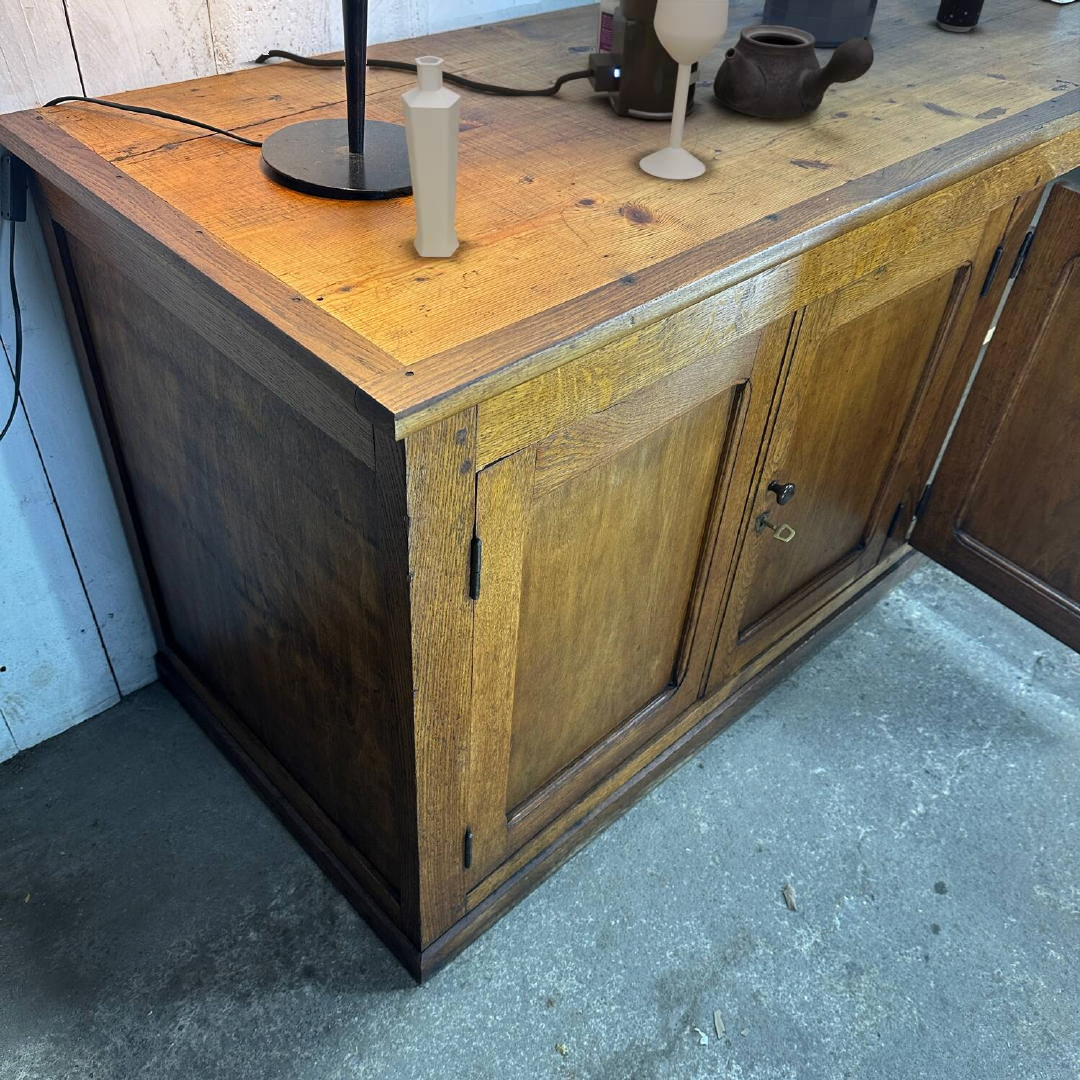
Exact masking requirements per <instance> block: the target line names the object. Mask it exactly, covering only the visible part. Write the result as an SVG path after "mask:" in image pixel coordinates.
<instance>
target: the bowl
mask: <svg viewBox="0 0 1080 1080" xmlns="http://www.w3.org/2000/svg"><path fill="white" fill-rule="evenodd" d="M878 1H879V0H764V5H763V12H762V17H761V23H760V25H769V26H776V25H778V26H786V27H792V28H796V29H799V30H803V31H806V32H808V33H810V34H811V35H812V36H814V38H815V40H816V41H815V44H814V48H815V47H817V48H838V47H839V46H840V45H842V44H843V43H845V42H846V41H848V40H850V39H853V38H863V39H865V38H866V37H868V36H870V34H871V30H872V26H873V21H874V17H875V13H876V10H877V5H878Z"/></svg>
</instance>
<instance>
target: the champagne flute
mask: <svg viewBox="0 0 1080 1080" xmlns="http://www.w3.org/2000/svg"><path fill="white" fill-rule="evenodd" d="M729 3H730V0H658V2H657V7H656V12H655V18H654V28H655V31H656V34H657V36H658V38H659V40H660V42H661V44H662V45H663V46H664V48H665V49H666V50H667V52H668V53H669V54H670V56H671V57H672V58H673V59H674V60H675V61H677V62H678V63H679V69H678V77H677V85H676V93H675V101H674V109H673V118H672V119H671V125H670V126H671V127H670V133H669V134H670V135H669V142H668V146H666V147H664V148H662V149H660V150H657V151H655V152H653V153H651V154H649V155H646V156H645V157H642V158H641V160H640V161H639V163H638V165H639V167H640V169H641V170H642V171H644V172H645V173H647V174H649V175H651V176H654V177H658V178H661V179H668V180H688V179H689V180H690V179H693V178H697V177H700V176H702V175H703V174H704V173H705V172H706V166H705V164H704V163H703V162H702V161H700V160H699V159H698V158H696V156H693V155H692V154H691V153H690V152H688V151H687V150H686V149H684V148H683V147H682V142H683V133H684V132H683V131H684V126H685V117H686V116H685V111H686V103H687V95H688V88H689V80H690V72H691V65H692V64H693V63H695V62H697V61H699V62H700V61H701V60H702V59H703V58H704V57H705V56H707V54H709V53H710V52H711V51H712V50H713V49H715V48H716V46H717V45H718V44H719V43H720V42H721V41H722V39H723V37H724V36H725V34H726V31H727V28H728V19H729V6H730V5H729Z"/></svg>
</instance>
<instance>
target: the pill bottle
mask: <svg viewBox="0 0 1080 1080" xmlns="http://www.w3.org/2000/svg"><path fill="white" fill-rule="evenodd" d="M619 4H620V0H601V1H600V3H599V8H598V20H597V21H598V23H597V35H596V51H595V53H611V41H612V28H613V16H614V8H615V7H617V6H619Z"/></svg>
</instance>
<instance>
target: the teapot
mask: <svg viewBox="0 0 1080 1080" xmlns="http://www.w3.org/2000/svg"><path fill="white" fill-rule="evenodd" d="M739 35H740V37H739V40H738V41H737V43H736V44H735V46H734V47H730V48H729V49H727V50H726V51H725V53H724V57H725V58H724V59H723V61H722V63H721V65H720V66H719V69H718V70H717V72H716V76H715V78H714V80H713V81H714V82H713V95H714V96H715V98H716V99H717V100H718V101H719V102H720V103H721V104H723V105H725V106H727V107H728V108H730V109H731V110H734V111H737V112H740V113H743V114H746V115H750V116H753V117H760V118H767V119H784V118H785V119H786V118H795V117H800V116H803V115H807V114H809V113H812V112H814V111H816V110H817V109H818V108H819V107H820V105H821V104H822V103H823V99H824V95H825V93H826V91H827V90H828V89H829V87H830V86H831V85H834V84H846V83H849V82H852V81H856V80H858V79H860V78H861V77H863V76H865V74H866V73H867V72H868V71H869V70H870V68H871V67H872V65H873V63H874V59H875V55H874V49H873V47H872V45H871V44H870V42H869V41H867V40H866V39H865V38H853V39H850V40H848V41H846V42H845V43H843V44H842V45H840V46H839V47H836V49H835V51H834V52H833V53H832V55H831V58H830V59H829V61H828V63H826V65H825V66H824V67H822V68H821V65H820V62H819V60H818V57H817V55H816V52H815V46H814V44H815V41H816V40H815V38H814V36H812V35H811V34H810V33H808V32H806V31H803V30H799V29H796V28H792V27H786V26H778V25H776V26H769V25H762V24H758V25H757V24H756V25H750V26H747V27H745V28H743V29H741V31H740V34H739Z"/></svg>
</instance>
